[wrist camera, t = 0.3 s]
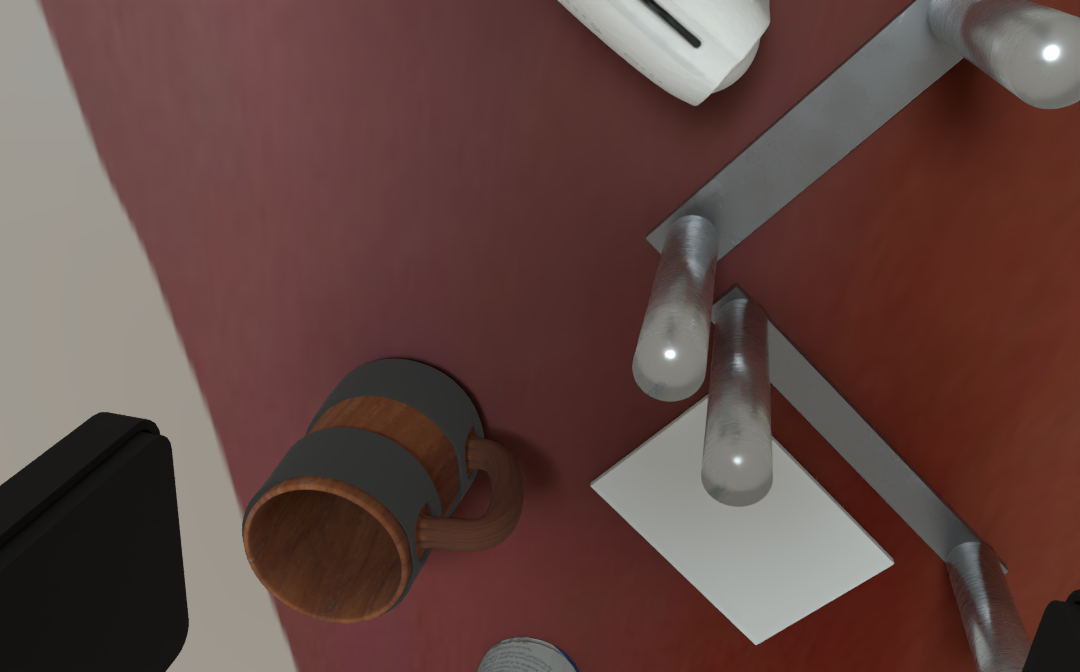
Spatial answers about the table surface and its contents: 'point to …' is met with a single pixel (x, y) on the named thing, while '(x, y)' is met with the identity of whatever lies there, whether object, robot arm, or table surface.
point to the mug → (377, 493)
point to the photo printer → (680, 39)
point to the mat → (742, 531)
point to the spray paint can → (526, 657)
